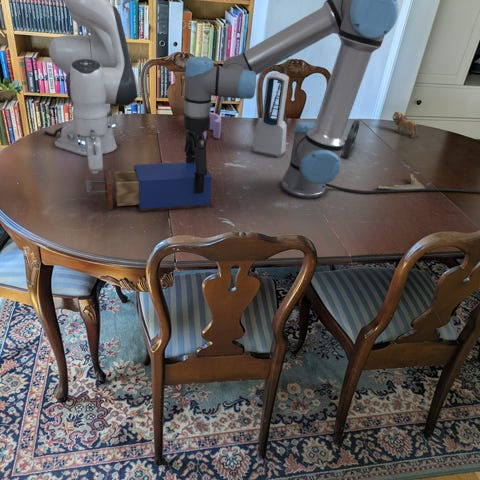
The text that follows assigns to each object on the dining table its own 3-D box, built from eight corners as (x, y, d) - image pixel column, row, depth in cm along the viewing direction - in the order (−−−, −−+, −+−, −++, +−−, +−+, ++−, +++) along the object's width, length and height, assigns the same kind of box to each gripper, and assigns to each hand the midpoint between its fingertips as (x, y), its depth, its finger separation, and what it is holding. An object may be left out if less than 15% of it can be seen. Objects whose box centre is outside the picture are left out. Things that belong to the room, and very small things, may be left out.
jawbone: (429, 189, 172) (431, 184, 171) (394, 201, 161) (396, 196, 160) (410, 177, 177) (412, 172, 176) (375, 189, 167) (376, 184, 165)
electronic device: (285, 152, 188) (297, 76, 172) (280, 158, 182) (292, 80, 166) (256, 146, 191) (264, 70, 175) (250, 152, 185) (258, 74, 168)
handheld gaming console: (349, 160, 187) (354, 136, 182) (342, 158, 188) (347, 134, 183) (355, 142, 206) (361, 119, 201) (349, 140, 207) (354, 118, 201)
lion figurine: (387, 130, 224) (392, 111, 219) (391, 127, 228) (397, 109, 223) (416, 139, 217) (422, 120, 212) (420, 136, 220) (426, 118, 215)
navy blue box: (139, 211, 138) (139, 180, 133) (134, 194, 147) (134, 164, 141) (209, 206, 145) (212, 176, 140) (201, 190, 154) (203, 162, 148)
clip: (182, 123, 206) (183, 107, 202) (209, 122, 210) (210, 106, 207) (197, 140, 191) (197, 123, 187) (225, 138, 195) (226, 122, 191)
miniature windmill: (283, 131, 209) (293, 61, 193) (265, 128, 210) (273, 58, 194) (285, 124, 217) (296, 57, 200) (268, 122, 218) (276, 54, 201)
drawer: (88, 210, 134) (86, 185, 129) (86, 195, 141) (84, 170, 137) (177, 204, 142) (177, 180, 137) (170, 190, 149) (171, 167, 145)
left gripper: (106, 138, 118) (109, 187, 126) (100, 112, 134) (103, 156, 142) (80, 139, 116) (85, 189, 124) (77, 112, 132) (81, 157, 140)
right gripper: (221, 129, 125) (215, 201, 137) (199, 102, 144) (196, 168, 155) (194, 129, 123) (191, 202, 135) (175, 102, 141) (174, 169, 153)
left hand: (94, 171), depth 133 cm, fingers closed
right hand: (194, 184), depth 145 cm, fingers closed on navy blue box, 11 cm apart
